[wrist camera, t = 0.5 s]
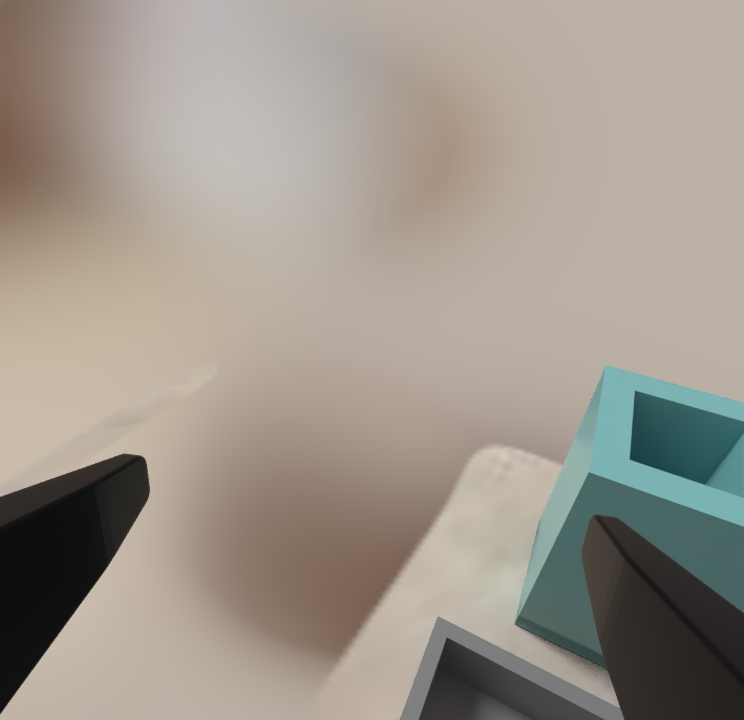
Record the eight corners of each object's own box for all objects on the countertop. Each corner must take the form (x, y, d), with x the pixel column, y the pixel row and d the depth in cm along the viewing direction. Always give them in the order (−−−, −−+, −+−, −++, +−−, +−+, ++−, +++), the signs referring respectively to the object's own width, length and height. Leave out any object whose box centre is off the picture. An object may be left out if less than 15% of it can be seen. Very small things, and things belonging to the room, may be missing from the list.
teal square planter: (656, 692, 21) (824, 555, 13) (514, 623, 23) (588, 471, 15) (658, 569, 25) (783, 413, 18) (539, 521, 27) (605, 365, 20)
